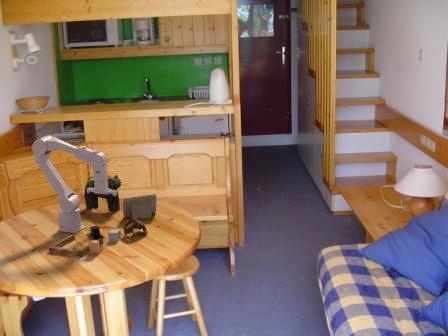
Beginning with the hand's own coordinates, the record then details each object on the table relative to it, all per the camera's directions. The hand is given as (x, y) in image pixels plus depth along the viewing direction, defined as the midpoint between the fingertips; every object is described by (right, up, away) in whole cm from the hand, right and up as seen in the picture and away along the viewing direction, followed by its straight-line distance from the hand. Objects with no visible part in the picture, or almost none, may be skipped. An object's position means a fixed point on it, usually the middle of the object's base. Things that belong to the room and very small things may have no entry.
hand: (103, 209), depth 247 cm
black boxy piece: (-3, -12, -4) cm, 13 cm away
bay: (-8, -15, -15) cm, 22 cm away
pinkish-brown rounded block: (+1, -16, -22) cm, 27 cm away
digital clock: (+14, -5, +19) cm, 24 cm away
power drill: (-7, -2, +31) cm, 32 cm away
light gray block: (+7, -12, -9) cm, 17 cm away
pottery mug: (+15, -11, -3) cm, 19 cm away
